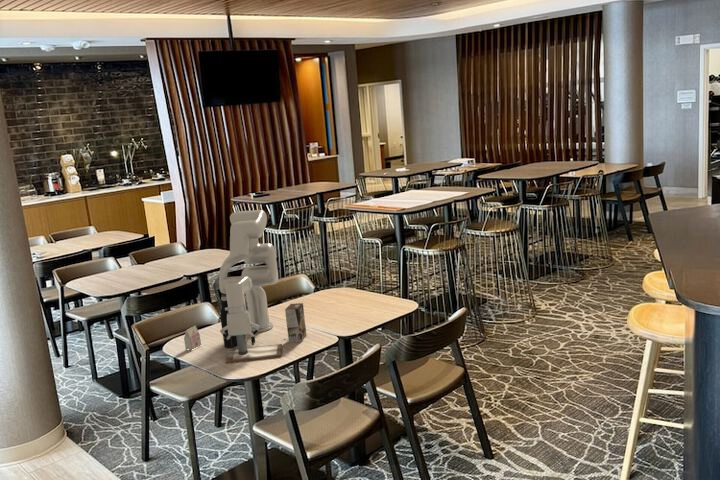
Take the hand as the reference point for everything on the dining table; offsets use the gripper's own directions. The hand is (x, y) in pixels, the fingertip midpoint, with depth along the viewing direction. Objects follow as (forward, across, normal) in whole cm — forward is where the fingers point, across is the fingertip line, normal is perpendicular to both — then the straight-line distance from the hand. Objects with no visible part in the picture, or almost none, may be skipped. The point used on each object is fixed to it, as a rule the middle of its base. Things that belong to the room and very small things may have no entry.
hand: (242, 345), depth 295 cm
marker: (+4, 0, 0) cm, 4 cm away
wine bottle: (+5, -7, +15) cm, 17 cm away
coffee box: (+5, +24, +14) cm, 28 cm away
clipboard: (+5, +5, 0) cm, 7 cm away
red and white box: (+5, -25, +18) cm, 31 cm away
